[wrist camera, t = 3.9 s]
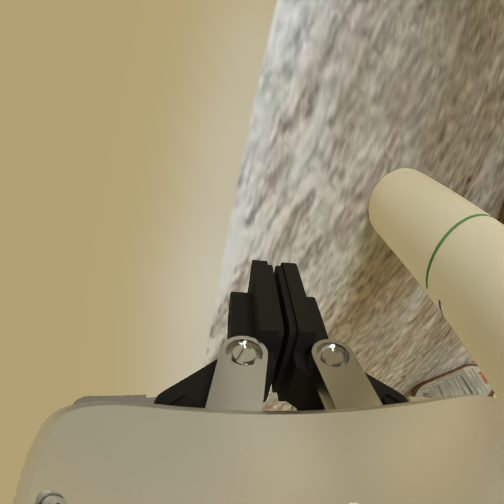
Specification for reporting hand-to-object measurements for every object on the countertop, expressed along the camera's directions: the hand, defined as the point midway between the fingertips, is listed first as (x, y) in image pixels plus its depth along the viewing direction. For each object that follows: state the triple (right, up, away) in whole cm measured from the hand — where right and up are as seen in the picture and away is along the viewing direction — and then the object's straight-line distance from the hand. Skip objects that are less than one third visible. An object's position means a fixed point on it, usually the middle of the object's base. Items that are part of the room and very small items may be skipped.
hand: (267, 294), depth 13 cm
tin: (+29, -18, +28) cm, 44 cm away
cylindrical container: (+13, +6, +15) cm, 21 cm away
